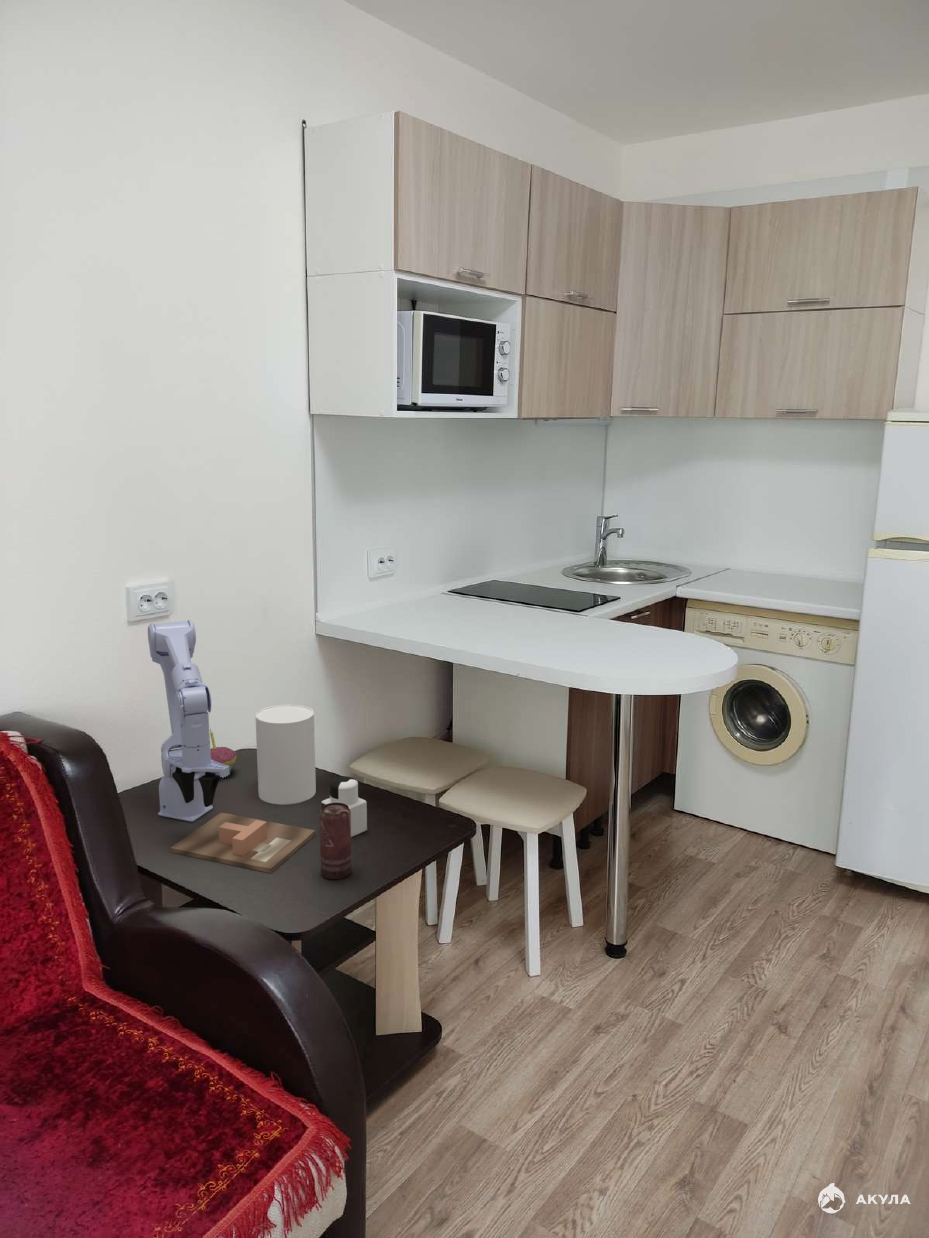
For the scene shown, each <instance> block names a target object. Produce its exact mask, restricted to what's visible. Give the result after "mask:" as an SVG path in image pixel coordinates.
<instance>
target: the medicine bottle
mask: <svg viewBox="0 0 929 1238" xmlns="http://www.w3.org/2000/svg"><path fill="white" fill-rule="evenodd" d="M329 803H343V804H346V805H348V807H349V809H350V811H351V838H352V837H354V836H358V835H359V834H362V833H364V832H366V831H368V817H367V816H368V814H367V813H368V810H367V809H368V808H367V806H368V805H367V804H368V803H367V801H366V800H365V799H363V798H360V797H359V782H358V780H357V779H356V778H354V777H351V776H347V775H346V776H345V775H344V776H336V777H335V778H333V779H331V780H330V782H329V798H325V799H324V800H322V801H321V807H322V806H324V805H326V804H329Z"/></svg>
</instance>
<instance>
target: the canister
mask: <svg viewBox="0 0 929 1238" xmlns="http://www.w3.org/2000/svg"><path fill="white" fill-rule="evenodd" d="M255 733H256V734H255V735H256V736H255V737H256V738H255V739H256V761H257V762H256V763H257V764H256V765H257V783H258V784H257V787H258V790H257V791H258V797H259V799H260V800H262V802H265V803H269V804H272V805H282V806H283V805H294V804H299V803H303V802H305V801H306V802H307V801H308V800H310V799H312V798H313V797H314V796H315V794H316V792H317V790H316V789H317V788H316V787H317V785H316V782H317V781H316V779H317V777H316V746H315V745H316V744H315V743H316V742H315V740H316V739H315V736H316V735H315V710H314V709H313V708H311V707H309V706H307V705H301V704H293V703H292V704H291V703H290V704H289V703H288V704H276V705H271V706H266V707H264V708H260V710H258V711H257V712H256V713H255Z"/></svg>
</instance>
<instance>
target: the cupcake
mask: <svg viewBox="0 0 929 1238" xmlns="http://www.w3.org/2000/svg"><path fill="white" fill-rule="evenodd" d="M209 734H210V741H211V743H212V744H211V745H212V748H211V747H210V753H211V760H214V761H216V762H218V763H221V764H223V765H227V766H229V775H230V774H231V770H232V766H233V765H234V764H235V763H236V762H237V758H238V756H237V753H236V751H235V750H233V749H231V748H229V747H227V746H216V742H215V736H214V733H213V731H212V729H211V728H209Z"/></svg>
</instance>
